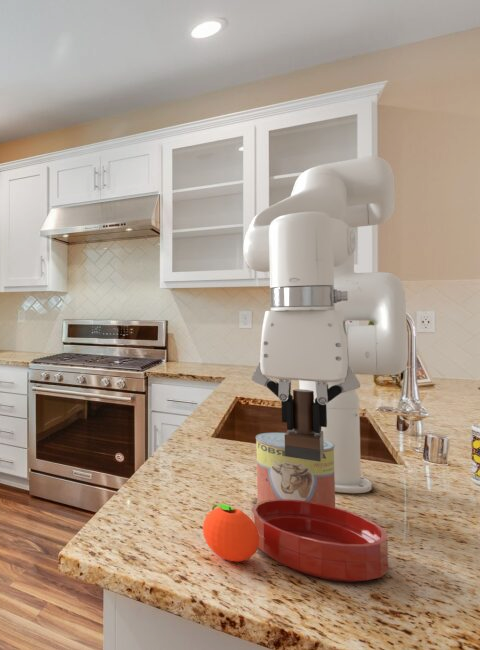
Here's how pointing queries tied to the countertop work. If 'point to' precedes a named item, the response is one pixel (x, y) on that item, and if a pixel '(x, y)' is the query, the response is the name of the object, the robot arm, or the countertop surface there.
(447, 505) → the countertop surface
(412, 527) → the countertop surface
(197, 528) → the countertop surface
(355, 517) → the bowl
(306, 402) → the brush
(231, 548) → the clementine
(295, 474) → the canned food
